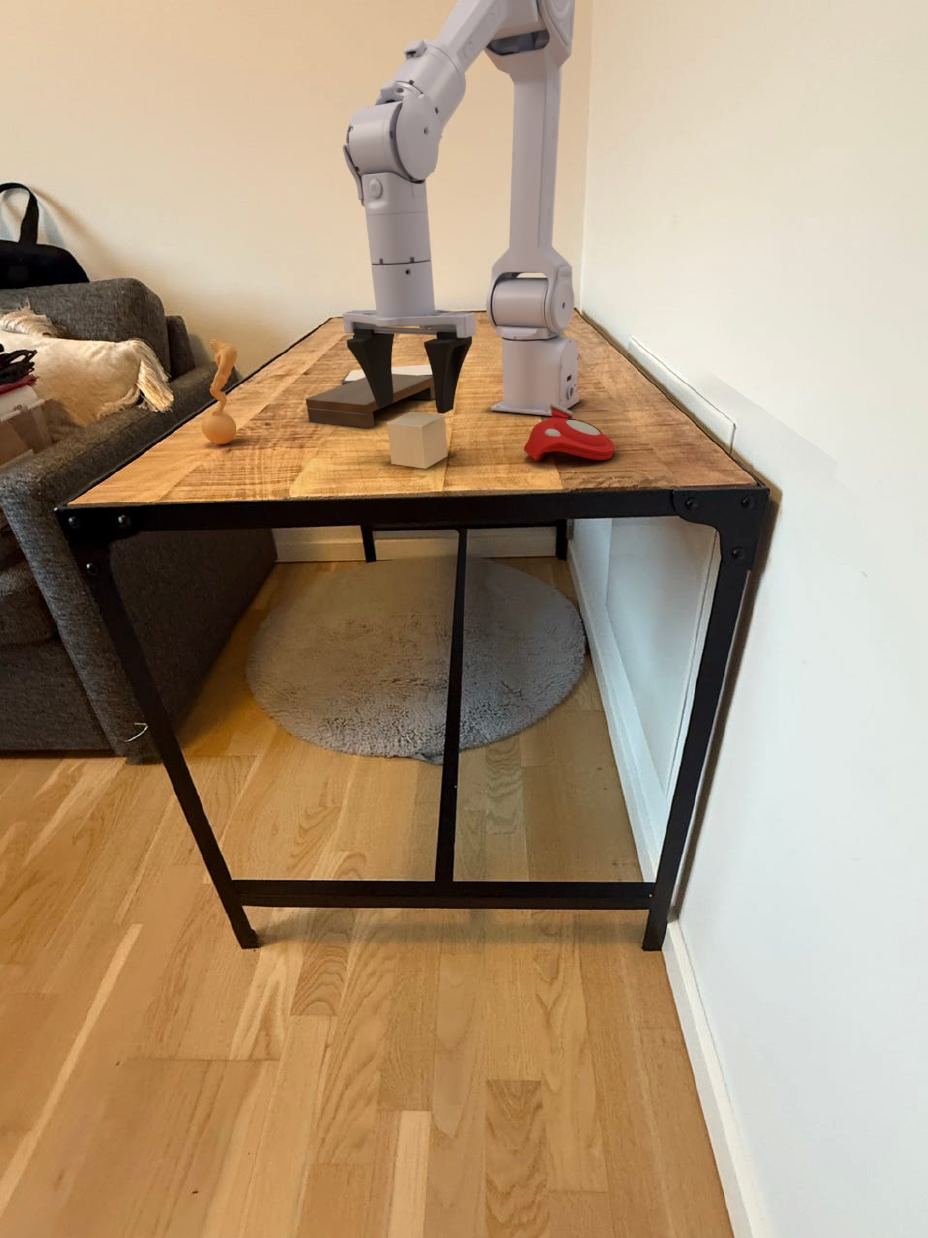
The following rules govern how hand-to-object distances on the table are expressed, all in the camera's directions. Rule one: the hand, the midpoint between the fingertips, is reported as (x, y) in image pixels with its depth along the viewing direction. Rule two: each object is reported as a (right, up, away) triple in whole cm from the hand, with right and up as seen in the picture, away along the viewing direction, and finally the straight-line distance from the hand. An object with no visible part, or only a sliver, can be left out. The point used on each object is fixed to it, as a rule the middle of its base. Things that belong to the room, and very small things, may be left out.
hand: (414, 408), depth 70 cm
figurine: (-24, -1, +13) cm, 27 cm away
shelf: (-7, +7, +23) cm, 25 cm away
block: (0, -5, +3) cm, 6 cm away
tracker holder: (+17, -4, +3) cm, 18 cm away
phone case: (-6, +16, +37) cm, 40 cm away
